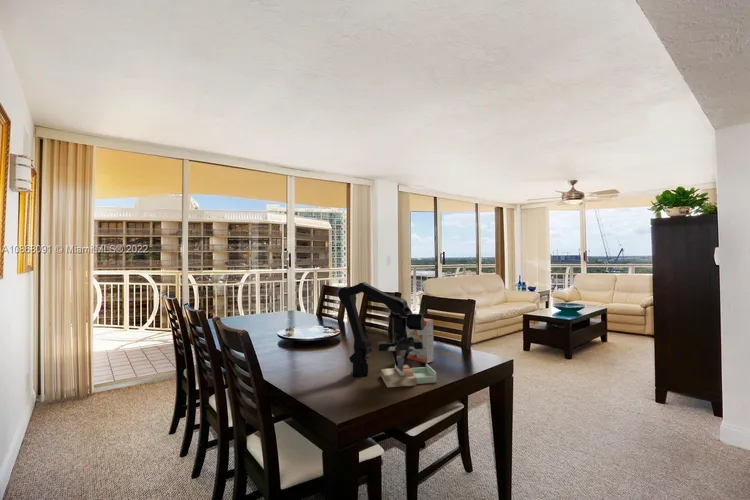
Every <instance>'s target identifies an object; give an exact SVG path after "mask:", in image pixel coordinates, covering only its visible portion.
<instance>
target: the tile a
mask: <svg viewBox="0 0 750 500" xmlns="http://www.w3.org/2000/svg"><path fill="white" fill-rule="evenodd" d="M403 371H404V376H413V371H412V370H411V369H403Z"/></svg>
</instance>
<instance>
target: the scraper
mask: <svg viewBox="0 0 750 500" xmlns="http://www.w3.org/2000/svg"><path fill="white" fill-rule="evenodd" d="M396 356H397V366H396V365H395V364H394V368H395V370H396V371H397V373H398V374H399V375H400V376H402V377H404V371H403V366H404V357H403V355H396Z"/></svg>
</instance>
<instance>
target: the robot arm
mask: <svg viewBox="0 0 750 500" xmlns="http://www.w3.org/2000/svg"><path fill="white" fill-rule="evenodd" d="M361 293H363V294H364V295H366V296H369V297H370V298H372V299H373V300H376V301H378V302H380V303H382V304H383V305H385V306H386V307H387V309H388V310H389V311H391V312H390V314H389V315H388V316H387V318H388V319H392V343H391V342H390V343H389V342H387V341H386V340H383V341H377V343H376V348H377V350H378V351H379V352H387V351H388V352H389V353H391V355H392V359H393V362H394V366H395V365H396V366H397V356H398V355H397V350H398V352H399V351H400V352H402V356H403V357H404V365H406V362H407V356H408V354H409V353H410V352H411V351H413V350H412V347H414V348H415V349H423V344H422V342H421V341H419V340H414V338H413V337H409V338H408V337H407V332H406V326H407V328H409V329H410V330H424V325H425V321H424V318H425V317H424V314H423V313H413V311H412V310H411V309H410V307H409V306H408V302H407V300H406V299H404V298H401V297H399V296H395V295H390V294H388V293H386V292H384V291H382V290H381V289H378V288H376V287H374V286H372V285H371V284H369V283H367V282H363V281H362V282H359V283H358V284H355V285H352V286H351V285H350V286H345V287H344V286H343V287H341V288H339V290H338V292H337V296H338V298H339V301H340V303H341V305H343V307H344V309H345V311H346V314H347V318H348V321H349V324H350V329H351V332H352V335H353V353H352V354H351V355H350V356H349V357H348V359H349V362H350V363H351V376H352V377H353V378H357V377H368V375H369V374H368V373H369V362H368V360H367V359H369V356H370V355H371V354H372V352H373V346H374V345H373V344H372V341H371V338H367V337H366V335H365V333H364V330H363V326H362V322H361V318H360V315H359V312H358V308H357V295H359V294H361ZM396 349H397V350H396Z"/></svg>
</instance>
